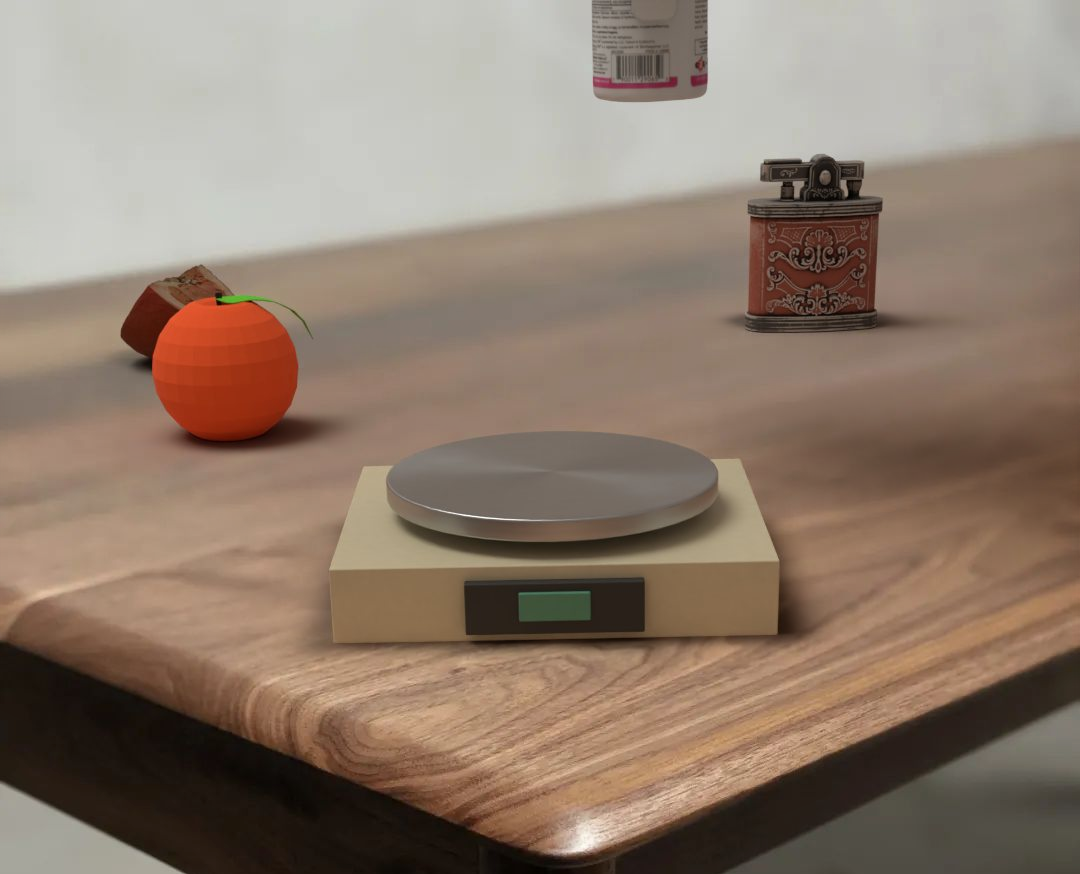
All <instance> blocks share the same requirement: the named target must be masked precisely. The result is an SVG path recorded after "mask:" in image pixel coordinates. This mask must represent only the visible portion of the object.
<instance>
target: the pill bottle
mask: <svg viewBox="0 0 1080 874" xmlns="http://www.w3.org/2000/svg"><path fill="white" fill-rule="evenodd" d="M708 11H709V0H678V10H677V13H676V15H675V16H674V17H673V18H672V19H671V20H668V21H639V20H638V19H636V18H635V17H634V16H633V14H632V11H631V0H591V45H592V46H591V47H592V48H591V51H592V54H591V55H592V56H591V57H592V92H593V95H594V97H595V98H596V99H599V100H603V101H608V102H616V103H656V102H670V101H684V100H694V99H698V98H701V97H704V96H705V94H706V93H707V90H708V82H709V78H708V77H709V67H708V66H709V56H708V55H709V53H708V51H709V50H708V47H709V46H708V45H709V44H708V40H709V34H708V33H709V26H708V25H709V22H708V20H709V19H708V18H709V17H708V15H709V14H708V13H709V12H708Z"/></svg>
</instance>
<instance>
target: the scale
mask: <svg viewBox="0 0 1080 874" xmlns="http://www.w3.org/2000/svg"><path fill="white" fill-rule="evenodd" d="M709 459H710V460H711V461H712V462H713V463H714V464H715V466H716V468H717V470H718V495H717V498H716V500H715V502H714V503H713V504H712V505H711V506H710V507H709V508H708V509H706V510H705V511H704V512H702V513H701V514H699V515H697V516H695V517H693V518H691V519H688V520H686V521H683V522H681V523H678V524H675V525H672V526H668V527H665V528H661V529H658V530H653V531H649V532H644V533H640V534H634V535H628V536H622V537H615V538H607V539H598V540H586V541H570V542H514V541H499V540H487V539H479V538H471V537H464V536H459V535H454V534H448V533H444V532H440V531H436V530H432V529H428V528H425V527H423V526H420V525H417V524H414V523H412V522H410V521H408V520H406V519H404V518H402V517H401V516H399V515H398V514H396V513H395V512H394V511H393V510H392V509H391V508H390V505H389V503H388V501H387V491H386V477H387V475H388V473H389V471H390V469H391V468H392V467H393V466H394V465H364V466H363V467H362V470H361V472H360V476H359V479H358V481H357V484H356V488H355V490H354V493H353V496H352V499H351V503H350V505H349V508H348V511H347V513H346V514H347V515H346V517H345V521H344V523H343V526H342V529H341V532H340V535H339V538H338V541H337V545H336V547H335V551H334V553H333V557H332V560H331V562H330V566H329V568H328V580H329V581H328V582H329V595H330V596H329V597H330V609H331V622H332V623H331V624H332V638H333V640H332V641H333V644H368V643H369V644H372V643H373V644H374V643H375V644H378V643H422V642H423V643H425V642H429V643H430V642H474V641H477V642H479V641H481V642H482V641H522V640H523V641H524V640H526V641H529V640H575V639H576V640H577V639H578V640H581V639H582V640H583V639H627V638H628V639H630V638H633V639H635V638H677V637H678V638H679V637H680V638H682V637H730V636H735V637H736V636H776V635H778V633H779V632H778V631H779V630H778V627H779V600H780V599H779V598H780V596H779V595H780V570H781V569H780V567H781V565H780V564H781V562H780V559H779V555H778V554H777V551H776V549H775V548H776V547H775V545H774V543H773V541H772V537H771V535H770V532H769V530H768V527H767V524H766V523H765V522H766V521H765V519H764V517H763V514H762V511H761V508H760V507H759V504H758V501H757V499H756V496H755V493H754V491H753V487H752V486H751V483H750V480H749V478H748V475H747V473H746V469H745V467H744V464H743V462H742V460H741V458H709Z"/></svg>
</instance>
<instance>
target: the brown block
mask: <svg viewBox="0 0 1080 874" xmlns="http://www.w3.org/2000/svg"><path fill="white" fill-rule="evenodd" d="M219 292H220V293H222V297H226V296H236V295H235V294H234V292H232V290H231V289H230V288H229V286H227V285H226V284H225V283H224V282H223V281H222V280H221V279H219V278H218V277H217V276H216V275H215V274H214V273H213V272H212V271H211V270H209V269H208V268H206V266H205V265H203V264H199V265H194V266H192V267H191V268H190V269H189V268H188V269H186V270H185V271H184V272H183V273H181V274H180V275H178V276H172V277H165V278H164V279H163V280H157V281H154V282H151V283H150V284H148V285H147V286H146V288H145V289H144V290H143V291H142V293H141V294H140V296H138V298H137V299H136V301H135V302H134V304H133V306H132V308H131V309H130V311H129V313H128V314H127V316H126V317H125V319H124V322H123V323H122V325H121V327H120V336H119V337H120V339H121V340H122V341H123V342H124V343H125V344H126V345H127V346H128V347H130V348H131V349H132V350H133V351H135V353H137V354H139V355H142V356H145V357H147V358H149V359H152V360H153V353H154V350H155V347H156V344H157V341H158V337H159V335H160V333H161V332H162V330H163V329H164V327H165V326H166V324H167V323H168V321H169V320H170V318H172V317H173V316H174V315H175V314H176V313H177V312H179V311H180V310H181V309H182V308H183V307H184V306H186V305H187V304H189V303H191V302H193V301H197V300H200V299H204V298H211V297H215V293H219Z"/></svg>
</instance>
